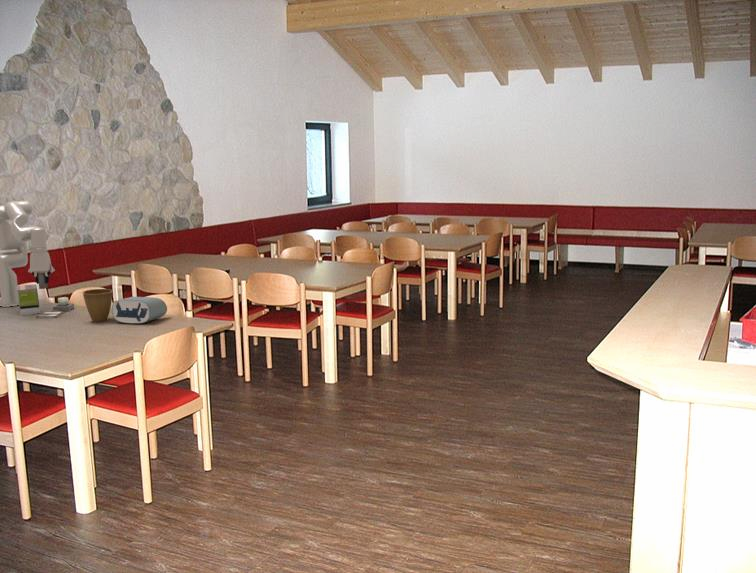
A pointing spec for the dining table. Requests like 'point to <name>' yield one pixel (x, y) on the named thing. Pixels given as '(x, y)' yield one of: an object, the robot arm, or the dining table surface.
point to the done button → (62, 301)
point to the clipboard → (51, 313)
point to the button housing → (64, 307)
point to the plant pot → (98, 303)
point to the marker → (41, 280)
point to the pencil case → (138, 309)
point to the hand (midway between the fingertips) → (42, 283)
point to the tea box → (28, 299)
